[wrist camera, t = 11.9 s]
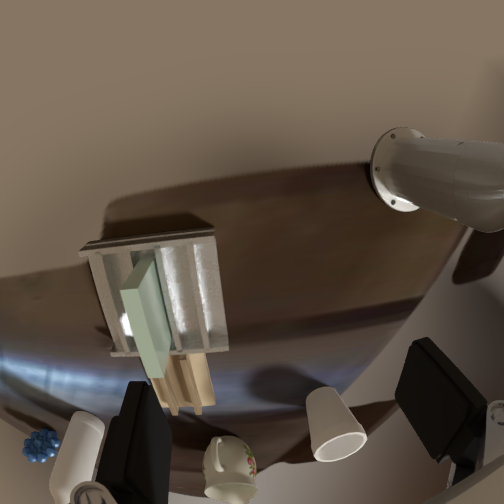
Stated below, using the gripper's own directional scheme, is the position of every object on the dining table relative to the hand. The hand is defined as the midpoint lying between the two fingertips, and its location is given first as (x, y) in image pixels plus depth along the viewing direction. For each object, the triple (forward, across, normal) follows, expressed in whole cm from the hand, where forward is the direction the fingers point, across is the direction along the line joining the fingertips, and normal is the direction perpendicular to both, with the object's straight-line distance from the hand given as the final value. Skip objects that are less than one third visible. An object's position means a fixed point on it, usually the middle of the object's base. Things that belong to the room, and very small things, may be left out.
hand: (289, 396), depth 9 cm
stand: (+30, +12, +26) cm, 42 cm away
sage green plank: (+29, +12, +10) cm, 33 cm away
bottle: (+31, +37, +41) cm, 63 cm away
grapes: (+31, +54, +49) cm, 79 cm away
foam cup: (+31, -13, +37) cm, 50 cm away
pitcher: (+31, +7, +48) cm, 57 cm away
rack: (+30, +12, +10) cm, 34 cm away
